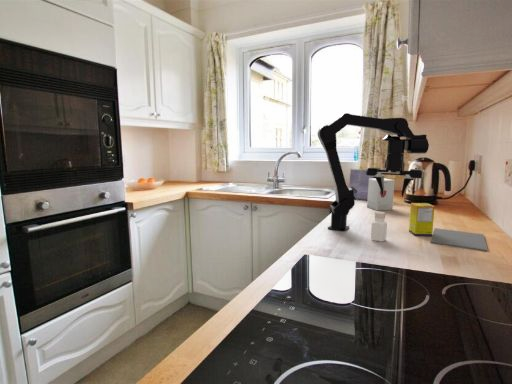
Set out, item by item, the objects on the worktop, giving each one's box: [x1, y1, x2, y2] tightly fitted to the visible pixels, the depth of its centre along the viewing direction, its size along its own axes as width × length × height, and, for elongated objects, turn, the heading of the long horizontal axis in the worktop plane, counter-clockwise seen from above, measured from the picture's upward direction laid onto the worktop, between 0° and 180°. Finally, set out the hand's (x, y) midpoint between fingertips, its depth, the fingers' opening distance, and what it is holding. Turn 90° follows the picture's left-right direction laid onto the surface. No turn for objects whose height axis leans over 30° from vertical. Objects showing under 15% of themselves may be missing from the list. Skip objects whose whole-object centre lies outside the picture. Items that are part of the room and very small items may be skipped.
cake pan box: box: [348, 168, 384, 201], centre depth 183 cm, size 19×5×18 cm, turn 58°
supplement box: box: [408, 202, 435, 237], centre depth 112 cm, size 6×6×11 cm
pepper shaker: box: [370, 211, 388, 243], centre depth 105 cm, size 4×4×10 cm
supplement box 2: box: [366, 177, 395, 211], centre depth 157 cm, size 9×9×15 cm
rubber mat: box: [430, 227, 488, 252], centre depth 107 cm, size 20×15×1 cm
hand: (392, 195), depth 116 cm, fingers open, 6 cm apart
